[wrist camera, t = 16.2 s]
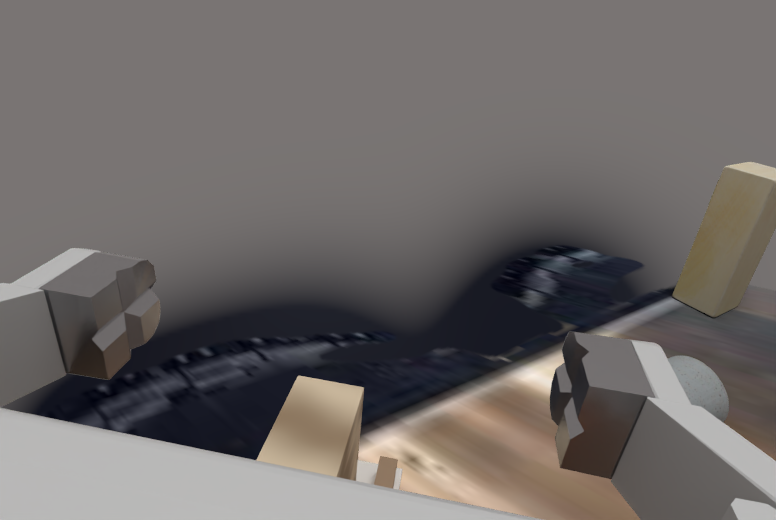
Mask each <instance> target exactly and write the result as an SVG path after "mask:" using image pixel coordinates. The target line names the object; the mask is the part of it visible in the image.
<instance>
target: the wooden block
mask: <svg viewBox="0 0 776 520" xmlns="http://www.w3.org/2000/svg"><path fill="white" fill-rule="evenodd" d="M363 394H364V388H363V387H358V386H352V385H347V384H341V383H336V382H331V381H325V380H320V379H315V378H309V377H304V376H298V377H297V379H296V381H295V383H294V385H293V387H292V389H291V391H290V393H289V395H288V397H287V399H286V401H285V403H284V405H283V407H282V409H281V411H280V413H279V415H278V417H277V419H276V422H275V424H274V426H273V428H272V430H271V432H270V434H269V436H268V438H267V440H266V442H265V444H264V446H263V448H262V450H261V452H260V454H259V456H258V458H257V460H256V461H261V462H266V463H271V464H276V465H281V466H286V467H290V468H295V469H300V470H305V471H310V472H315V473H320V474H325V475H330V476H334V477H339V478H344V479H349V480H354V481H356V474H357V462H358V451H359V440H360V428H361V417H362V405H363Z"/></svg>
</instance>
